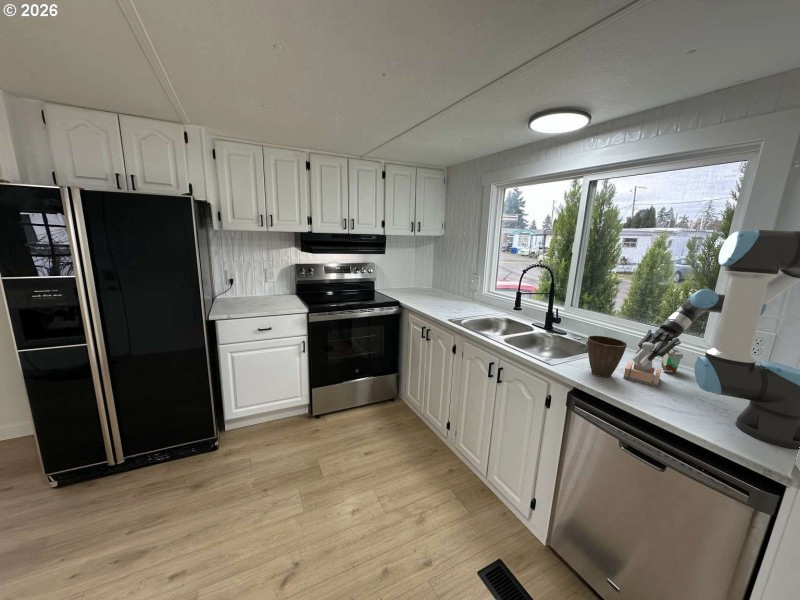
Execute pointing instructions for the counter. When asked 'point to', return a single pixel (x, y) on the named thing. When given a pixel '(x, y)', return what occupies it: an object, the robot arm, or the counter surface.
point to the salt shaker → (646, 349)
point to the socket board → (642, 375)
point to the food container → (671, 361)
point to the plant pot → (604, 354)
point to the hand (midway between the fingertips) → (637, 362)
